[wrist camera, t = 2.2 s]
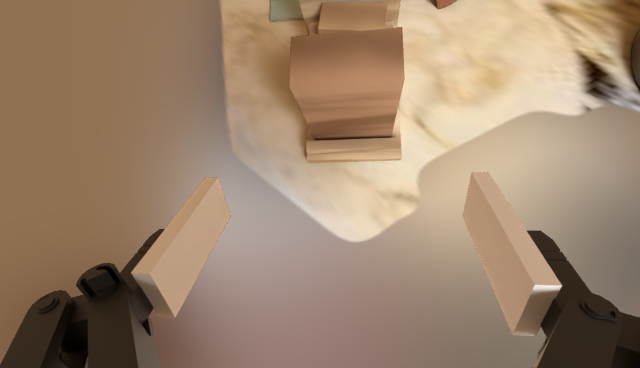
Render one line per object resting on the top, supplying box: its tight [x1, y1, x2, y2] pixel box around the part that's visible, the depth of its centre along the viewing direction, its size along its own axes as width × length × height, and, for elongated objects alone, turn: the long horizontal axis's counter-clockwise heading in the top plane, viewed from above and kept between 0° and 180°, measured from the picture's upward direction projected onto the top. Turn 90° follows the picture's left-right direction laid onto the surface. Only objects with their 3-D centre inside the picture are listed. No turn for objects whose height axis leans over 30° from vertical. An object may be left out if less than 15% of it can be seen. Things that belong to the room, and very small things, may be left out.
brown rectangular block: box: [289, 27, 404, 141], centre depth 28 cm, size 4×8×12 cm, turn 89°
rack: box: [299, 0, 401, 163], centre depth 31 cm, size 16×10×9 cm, turn 179°
